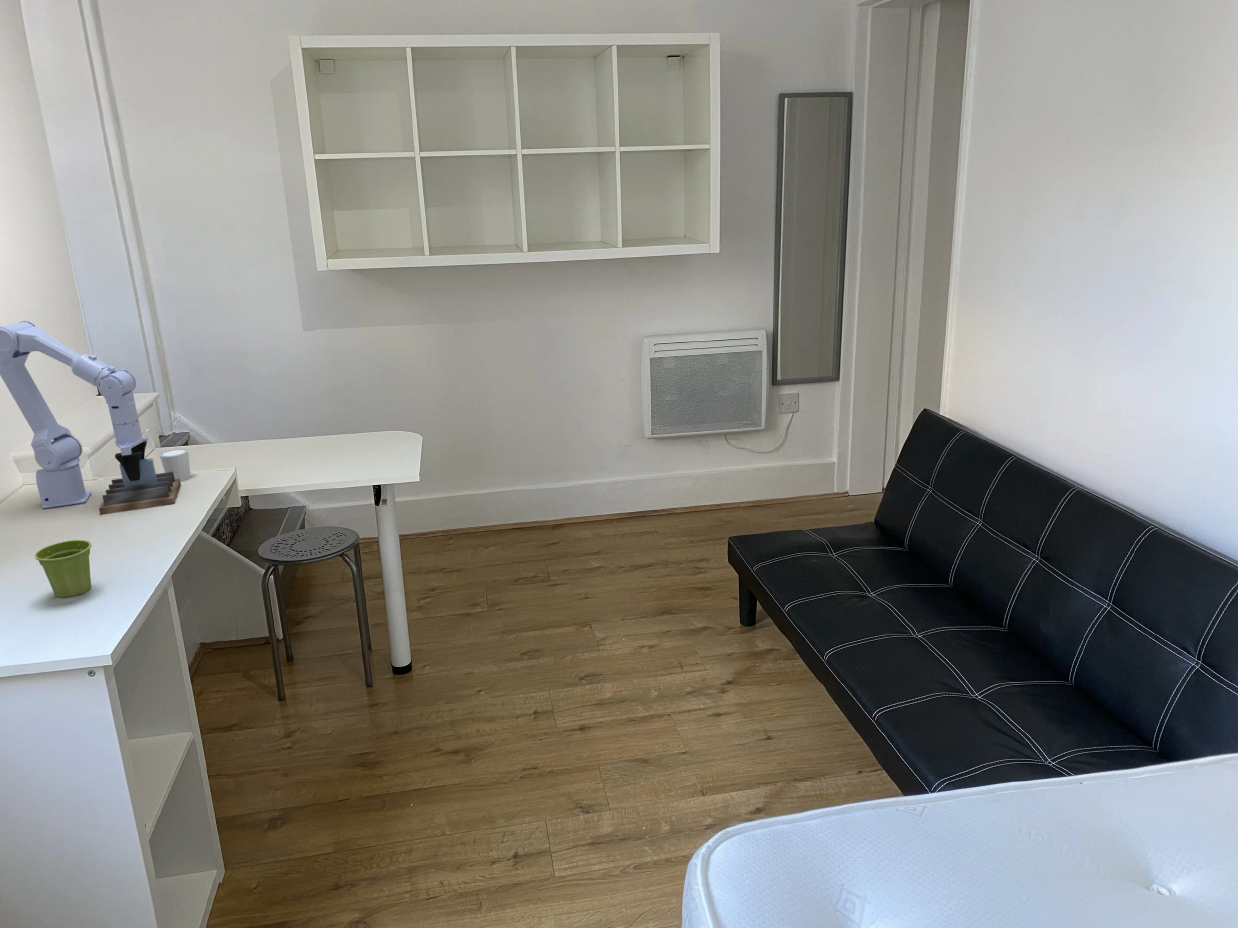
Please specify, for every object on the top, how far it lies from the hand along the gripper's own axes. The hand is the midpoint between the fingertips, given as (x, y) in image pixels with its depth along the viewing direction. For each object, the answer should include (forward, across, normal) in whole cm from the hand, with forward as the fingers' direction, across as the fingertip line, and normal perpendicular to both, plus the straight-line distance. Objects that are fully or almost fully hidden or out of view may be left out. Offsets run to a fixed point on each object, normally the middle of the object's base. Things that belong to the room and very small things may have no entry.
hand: (137, 475), depth 228 cm
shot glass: (+6, +14, -7) cm, 17 cm away
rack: (+6, 0, 0) cm, 6 cm away
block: (+4, 0, 0) cm, 4 cm away
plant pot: (+6, -55, +5) cm, 56 cm away
